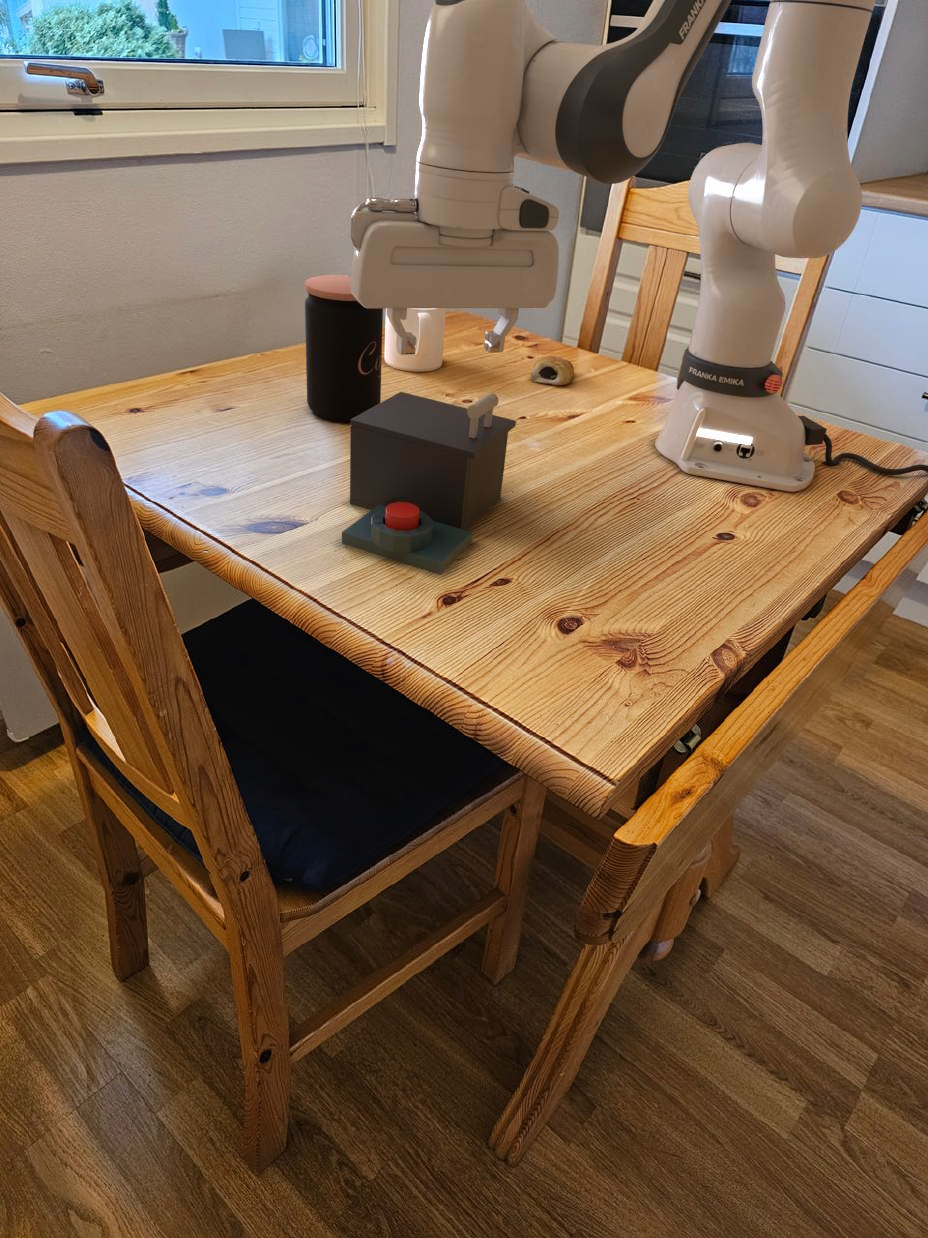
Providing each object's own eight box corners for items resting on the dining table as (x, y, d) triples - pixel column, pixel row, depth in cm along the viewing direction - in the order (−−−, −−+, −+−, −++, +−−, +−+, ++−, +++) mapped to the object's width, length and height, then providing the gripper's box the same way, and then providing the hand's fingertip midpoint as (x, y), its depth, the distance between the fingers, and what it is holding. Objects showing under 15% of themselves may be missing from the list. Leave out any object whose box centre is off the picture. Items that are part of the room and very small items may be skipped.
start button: (424, 522, 92) (425, 507, 91) (408, 535, 89) (409, 520, 88) (395, 513, 93) (396, 498, 92) (378, 526, 90) (379, 511, 89)
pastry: (544, 366, 151) (547, 345, 149) (580, 374, 150) (584, 353, 147) (527, 381, 144) (530, 358, 142) (565, 389, 142) (569, 367, 140)
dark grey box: (500, 500, 105) (509, 424, 100) (460, 537, 96) (467, 457, 91) (397, 470, 110) (400, 397, 104) (349, 504, 101) (350, 425, 95)
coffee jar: (368, 429, 121) (370, 297, 111) (296, 418, 122) (292, 287, 112) (388, 404, 129) (392, 280, 119) (321, 394, 131) (319, 270, 121)
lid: (515, 426, 99) (520, 388, 97) (474, 459, 91) (478, 418, 88) (400, 396, 104) (401, 360, 102) (350, 425, 95) (350, 386, 93)
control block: (471, 544, 95) (474, 516, 93) (436, 578, 89) (438, 549, 87) (378, 515, 99) (379, 488, 97) (337, 546, 92) (337, 518, 90)
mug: (379, 353, 150) (380, 293, 144) (434, 353, 153) (437, 294, 147) (394, 377, 140) (396, 313, 134) (452, 376, 143) (457, 314, 137)
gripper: (360, 202, 72) (357, 364, 80) (575, 211, 79) (553, 359, 87) (342, 190, 77) (341, 344, 85) (546, 199, 84) (528, 341, 91)
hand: (450, 352), depth 86 cm, fingers open, 8 cm apart
